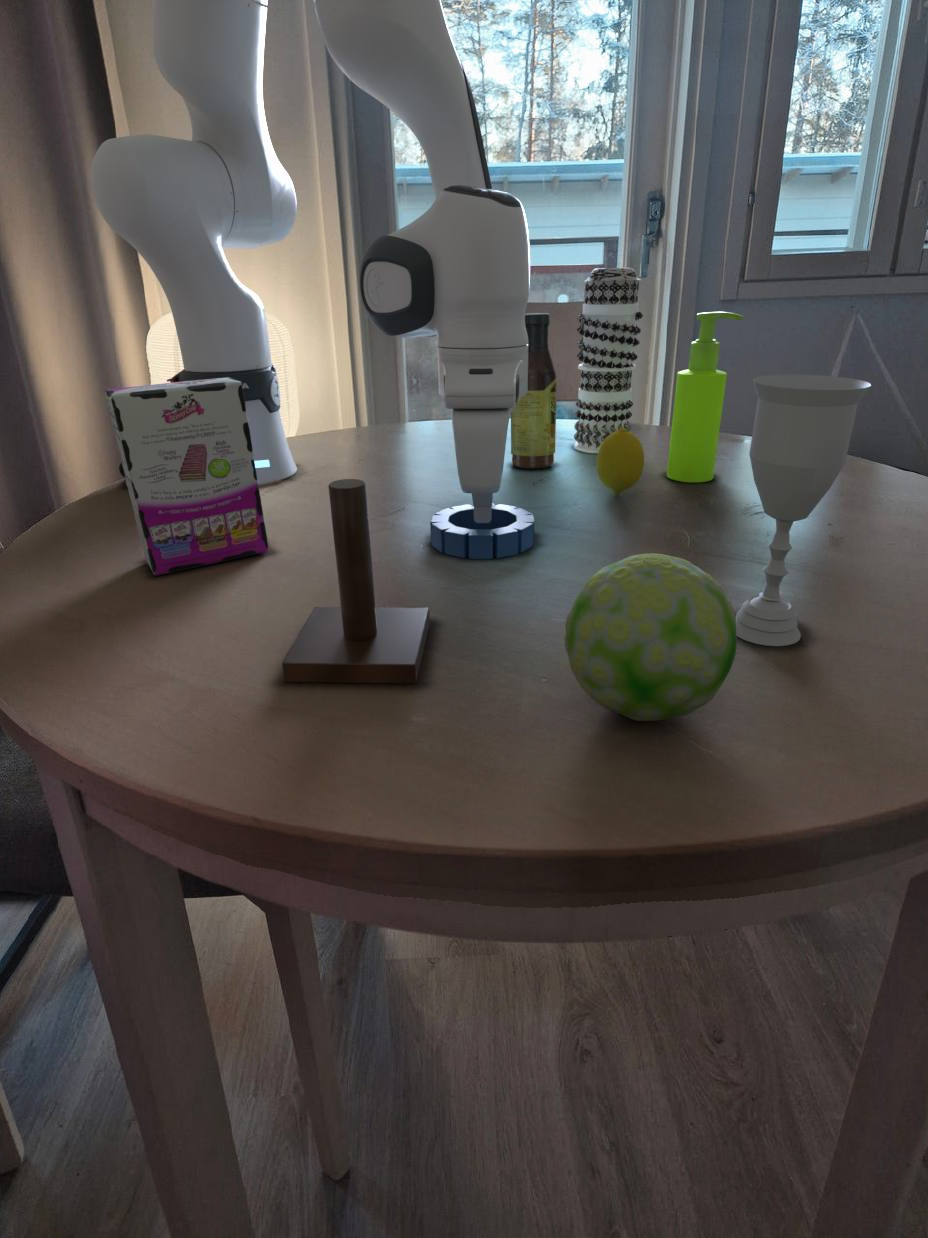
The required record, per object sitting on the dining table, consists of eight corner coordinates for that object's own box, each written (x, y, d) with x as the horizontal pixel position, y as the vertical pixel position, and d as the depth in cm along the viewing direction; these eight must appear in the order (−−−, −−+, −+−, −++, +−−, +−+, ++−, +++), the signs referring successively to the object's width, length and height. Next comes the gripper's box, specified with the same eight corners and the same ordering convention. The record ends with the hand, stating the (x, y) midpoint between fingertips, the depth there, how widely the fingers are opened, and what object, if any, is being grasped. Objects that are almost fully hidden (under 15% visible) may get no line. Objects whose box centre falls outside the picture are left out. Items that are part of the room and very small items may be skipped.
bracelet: (427, 558, 69) (425, 535, 68) (436, 524, 78) (436, 503, 77) (535, 559, 68) (535, 535, 67) (532, 524, 78) (532, 503, 77)
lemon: (641, 501, 85) (647, 433, 81) (593, 499, 86) (598, 432, 82) (640, 488, 90) (646, 423, 86) (595, 487, 91) (599, 422, 87)
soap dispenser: (721, 484, 91) (744, 313, 82) (664, 480, 93) (682, 313, 84) (721, 473, 96) (744, 310, 87) (668, 470, 98) (685, 310, 89)
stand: (284, 682, 48) (257, 503, 43) (316, 623, 57) (297, 466, 51) (416, 684, 48) (406, 503, 42) (429, 624, 56) (422, 466, 51)
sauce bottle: (560, 469, 99) (566, 313, 91) (516, 471, 98) (518, 315, 90) (547, 458, 105) (552, 311, 96) (505, 460, 104) (506, 312, 96)
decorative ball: (737, 763, 40) (767, 598, 35) (556, 747, 41) (564, 588, 37) (713, 674, 48) (735, 533, 44) (565, 663, 50) (572, 527, 46)
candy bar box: (255, 539, 75) (229, 375, 68) (270, 553, 71) (245, 380, 64) (142, 561, 70) (101, 386, 63) (152, 577, 66) (110, 393, 59)
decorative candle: (595, 438, 117) (606, 268, 106) (643, 447, 111) (659, 266, 100) (559, 447, 111) (566, 268, 100) (607, 457, 105) (620, 267, 94)
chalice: (837, 645, 52) (898, 385, 44) (757, 659, 50) (805, 392, 42) (771, 605, 58) (813, 372, 50) (697, 616, 56) (730, 378, 49)
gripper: (457, 364, 80) (460, 485, 86) (442, 391, 62) (447, 543, 68) (514, 363, 80) (512, 485, 86) (515, 391, 61) (513, 544, 67)
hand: (483, 511), depth 76 cm, fingers open, 5 cm apart
